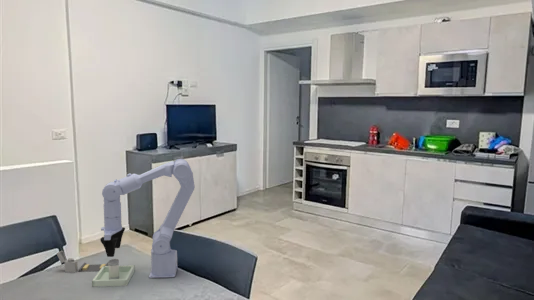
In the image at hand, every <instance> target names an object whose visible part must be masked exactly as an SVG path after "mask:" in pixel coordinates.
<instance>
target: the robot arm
mask: <svg viewBox="0 0 534 300" xmlns="http://www.w3.org/2000/svg"><path fill="white" fill-rule="evenodd" d="M172 175H173V176H174V178H175V179H176V181H178V182H179V185H180V188H179V190H178V192H177V194H176V196H175V198H174V200H173V202H172V204H171V206H170V208H169V210H168V212H167V215H165V217H164V220H163V223H161V225H160V226H159V228H158V229H157V230H156V231H155V232H154V233H153V235H152V244H151V250H150V251H151V252H150V258H151V259H150V260H151V261H150V263H151V265H150V266H151V270H150V273H149V275H148V278H149V279H152V278H153V279H155V278H159V279H161V278H175V277H176V274H177V270H178V251H177V250H176V249H172V247H171V240H172V238H173V235H174V232H175V229H176V227H177V224H178V222H179V221H180V219H181V217H182V215H183V213H184V211H185V209H186V206H187V205H188V203H189V200H190V198H191V196H192V194H193V193H194V191H195V180H194V173H193V171H192V167H191V166H190V164H189V162H188V161H187V159H184V158H177V159H176V160H171V161H168V162H164V163H163V164H161V165H159V166H157V167H155V168H152V169H149V170H148V171H146V172H143V173H141V174H137V173H128V174H126V176H124V177H121V178H119V179H114V180H113V181H110V182H108V183H107V184H105V185H104V187H103V189H102V193H101V195H102V198H103V223H104V226H102V227H100V231H103V233H104V234H103V236H102V237H100V243H101V244H102V246H103V247H104V250H105V254H106V257H107V258H111V257H112V258H113V257H115V253H116V249H120V248H121V246H122V245H121V244H122V239H123V236H124V233H125V230H126V228H125V227H123V225H122V202H121V196H125V195H126V194H129V193H131V192H134V191H137V190H139V189H141V187H142V186H143V184H144V183H147V182H150V181H153V180H157V179H158V178H160V177H161V178H162V177H164V176H165V177H169V178H173V176H172Z"/></svg>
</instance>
